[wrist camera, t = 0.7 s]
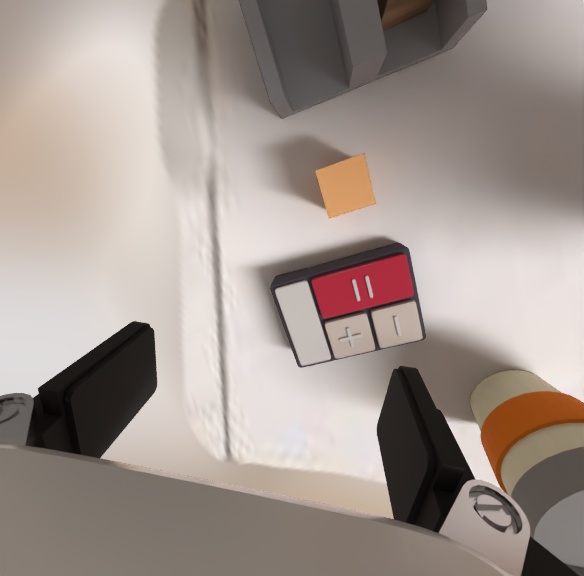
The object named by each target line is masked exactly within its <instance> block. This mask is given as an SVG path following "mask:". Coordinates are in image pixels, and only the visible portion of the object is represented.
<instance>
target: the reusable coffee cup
mask: <svg viewBox="0 0 584 576" xmlns="http://www.w3.org/2000/svg"><path fill="white" fill-rule="evenodd" d="M470 405H471V409H472V412H473V414H474V416H475V419H476V421H477V423H478V426H479V428H480V430H481V441H482V445H483V447H484V450H485V452H486V455H487V457H488V459H489V462H490V464H491V467H492V469H493V471H494V474H495V476H496V479H497V481H498V483H499V485H500V487H501V489H502V490H503V491H504V492H505V493H506V494H508V495H509V496H510V497H511V498H512V499H513V500H514V501H515V502H516V503H517V504H518V505H519V506H520V508H521V509H522V511H523V512H524V514H525V515H526V517H527V519H528V522H529V525H530V536H531V537H532V538H533V539H534V540H536V541H537V542H538V543H539V544H541V545H542V546H543V547H544V548H546V549H547V550H548V551H549V552H551V553H552V554H553V555H554V556H556V557H557V558H558V559H559V560H561V561H562V562H563V563H564V564H566V565H567V566H568V567H569V568H571V569H572V570H573V571H574V572H576V573H577V574H578V575H580V576H584V403H583V402H581V401H580V400H578V399H576V398H574V397H572V396H570V395H567V394H563V393H561V392H560V391H558V390H557V389H556V388H554V387H553V386H551V385H550V384H548V383H547V382H546V381H544V380H543V379H541V378H540V377H538V376H537V375H535V374H533V373H530V372H527V371H522V370H507V371H501V372H498V373H495V374H492V375H491V376H489V377H487V378H485V379H484V380H482V381H481V382H480V383H479V384H478V385H477V386H476V387H475V389H474V391H473V392H472V395H471V399H470Z"/></svg>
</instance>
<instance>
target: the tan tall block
mask: <svg viewBox="0 0 584 576" xmlns="http://www.w3.org/2000/svg"><path fill="white" fill-rule="evenodd" d="M315 172H316V175H317V179H318V182H319V186H320V189H321V193H322V196H323V200H324V203H325V207H326V210H327V214H328V217H329V218H332V217H335V216H338V215H341V214H345V213H348V212H351V211H354V210H357V209H360V208H363V207H366V206H370V205H373V204H376V202H375V198H374V193H373V189H372V185H371V180H370V176H369V172H368V168H367V163H366V159H365V155H364V153H363V154H360V155H357V156H354V157H352V158H349V159H346V160H343V161H341V162H338V163H335V164H332V165H330V166H327V167H324V168H321V169H319V170H316V171H315Z"/></svg>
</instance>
